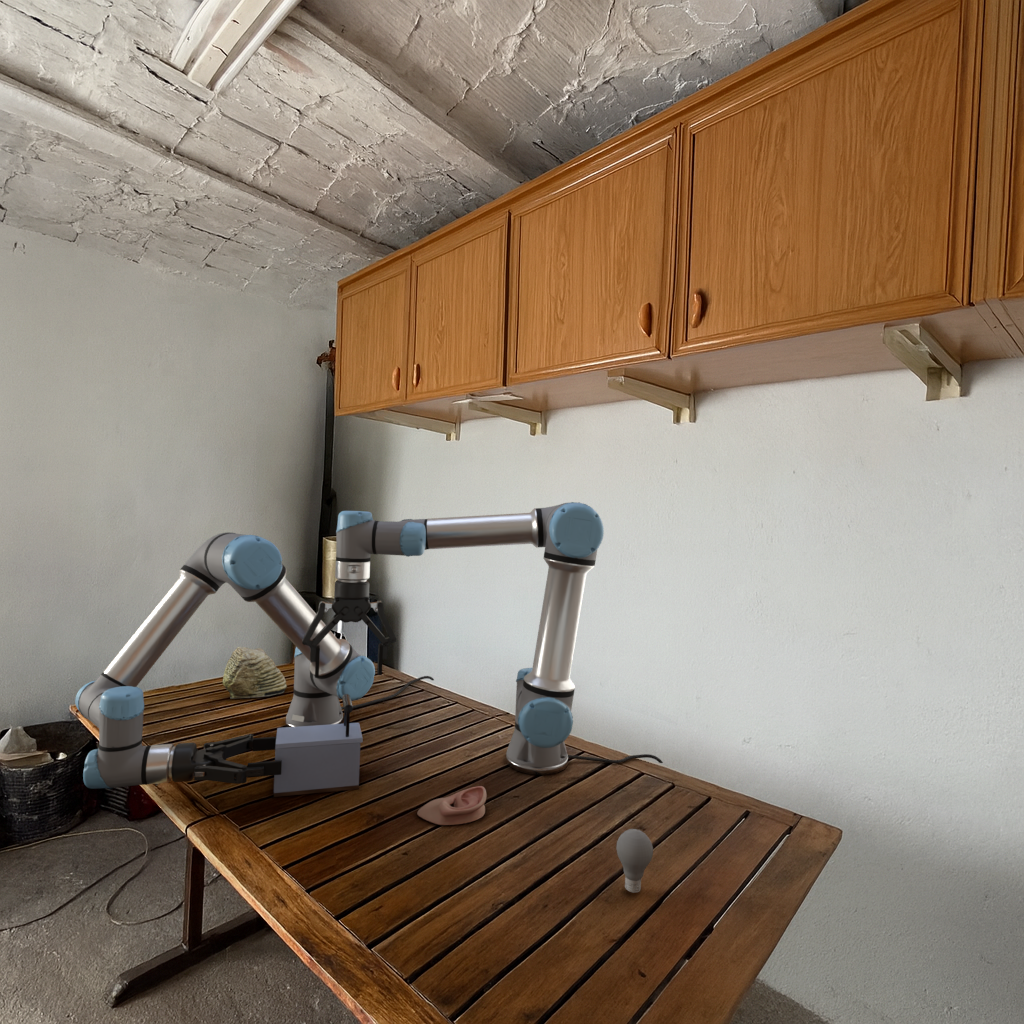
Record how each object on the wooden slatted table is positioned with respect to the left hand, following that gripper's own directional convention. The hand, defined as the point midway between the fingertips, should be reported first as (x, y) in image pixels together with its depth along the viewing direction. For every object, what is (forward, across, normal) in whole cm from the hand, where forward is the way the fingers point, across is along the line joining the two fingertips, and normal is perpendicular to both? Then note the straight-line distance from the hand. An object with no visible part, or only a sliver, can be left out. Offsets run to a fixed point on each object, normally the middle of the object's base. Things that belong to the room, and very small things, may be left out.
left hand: (282, 754), depth 138 cm
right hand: (+13, 0, +17) cm, 21 cm away
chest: (+7, 0, -7) cm, 10 cm away
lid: (+7, 0, +3) cm, 8 cm away
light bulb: (+57, +52, -7) cm, 78 cm away
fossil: (-10, -67, -7) cm, 68 cm away
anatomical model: (+34, +20, -7) cm, 40 cm away
